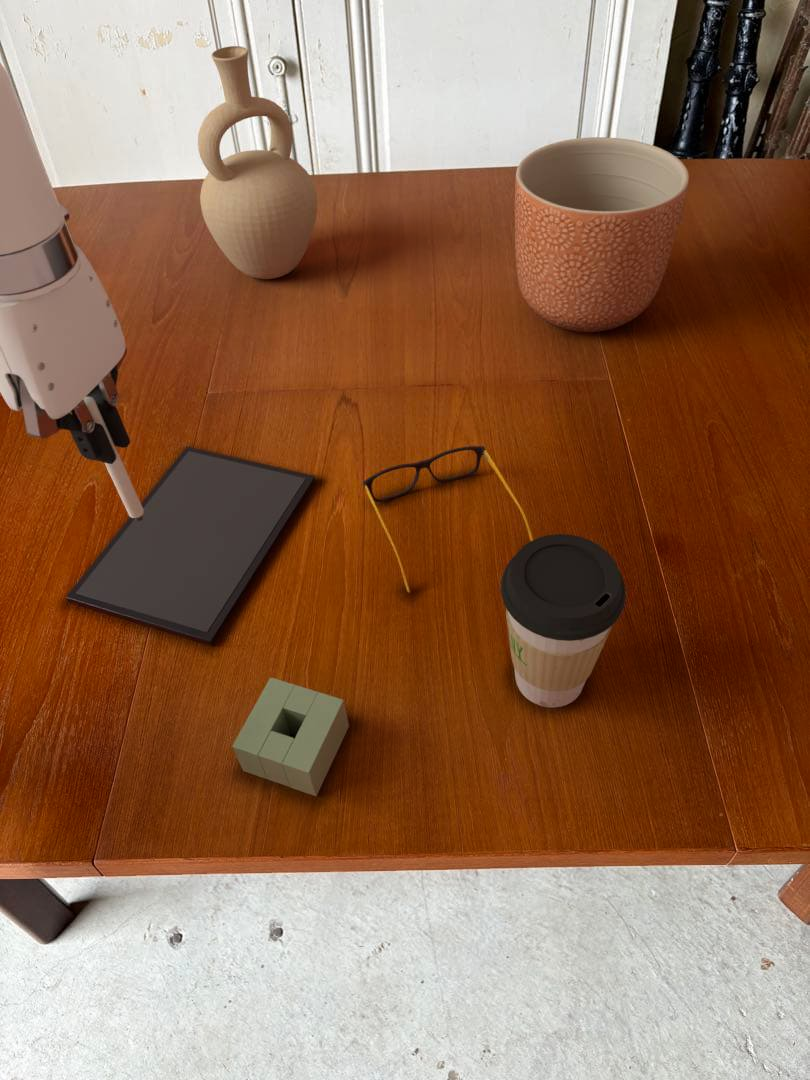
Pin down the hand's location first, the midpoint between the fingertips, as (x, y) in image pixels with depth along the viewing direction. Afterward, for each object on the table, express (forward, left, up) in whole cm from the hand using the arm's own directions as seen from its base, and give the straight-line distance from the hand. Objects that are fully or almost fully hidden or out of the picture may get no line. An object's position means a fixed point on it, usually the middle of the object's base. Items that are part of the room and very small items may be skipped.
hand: (107, 449), depth 70 cm
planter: (+30, +62, -19) cm, 71 cm away
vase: (-18, +60, -19) cm, 65 cm away
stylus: (0, 0, -9) cm, 9 cm away
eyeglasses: (+25, +17, -19) cm, 36 cm away
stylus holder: (+21, -12, -19) cm, 31 cm away
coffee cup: (+40, +2, -19) cm, 44 cm away
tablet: (0, +7, -19) cm, 20 cm away
